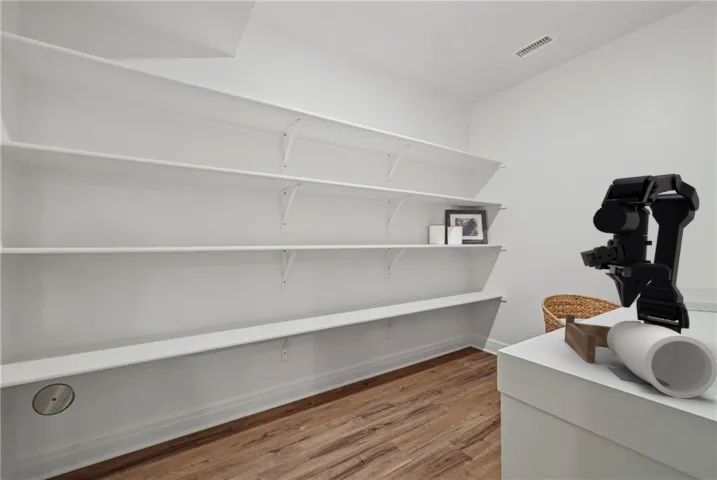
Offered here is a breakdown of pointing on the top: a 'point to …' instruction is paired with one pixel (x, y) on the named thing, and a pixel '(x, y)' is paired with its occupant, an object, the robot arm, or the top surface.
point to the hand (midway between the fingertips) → (625, 307)
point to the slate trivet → (632, 376)
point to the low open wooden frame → (585, 337)
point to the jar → (664, 358)
